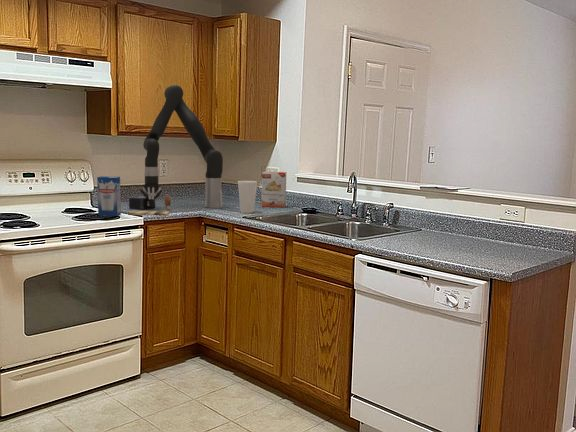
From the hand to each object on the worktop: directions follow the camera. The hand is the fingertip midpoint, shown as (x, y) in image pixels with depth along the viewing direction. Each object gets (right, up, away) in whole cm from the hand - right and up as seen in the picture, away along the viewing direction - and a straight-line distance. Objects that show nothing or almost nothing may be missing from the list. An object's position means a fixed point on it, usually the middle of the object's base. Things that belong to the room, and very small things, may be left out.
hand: (151, 205), depth 339 cm
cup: (+54, -4, -4) cm, 54 cm away
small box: (-2, +2, +2) cm, 3 cm away
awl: (+11, -4, -9) cm, 14 cm away
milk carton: (-16, -6, -25) cm, 30 cm away
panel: (+2, -5, -17) cm, 18 cm away
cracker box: (+68, 0, +22) cm, 71 cm away
